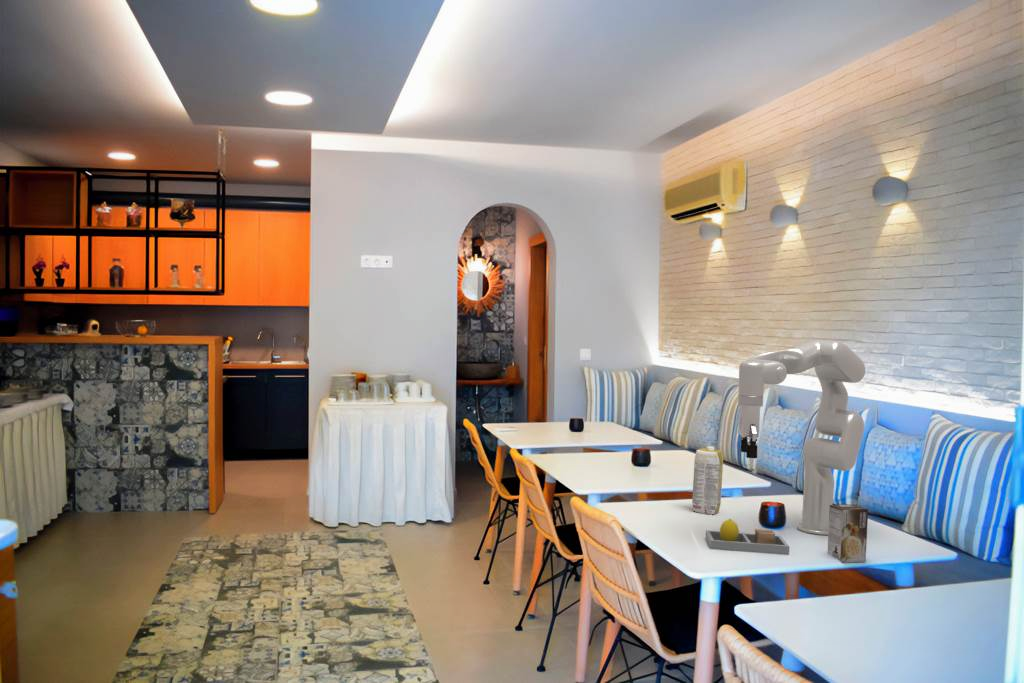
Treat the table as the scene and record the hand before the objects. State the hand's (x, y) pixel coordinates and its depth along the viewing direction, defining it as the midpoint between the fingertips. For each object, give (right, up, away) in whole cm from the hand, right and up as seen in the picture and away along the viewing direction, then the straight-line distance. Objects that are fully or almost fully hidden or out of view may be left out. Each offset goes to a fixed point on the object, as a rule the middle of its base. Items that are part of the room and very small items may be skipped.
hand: (748, 455), depth 256 cm
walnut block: (+3, -28, -6) cm, 28 cm away
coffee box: (+26, -30, -11) cm, 41 cm away
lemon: (-8, -27, -5) cm, 29 cm away
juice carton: (-3, -27, +42) cm, 50 cm away
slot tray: (-2, -28, -5) cm, 29 cm away
